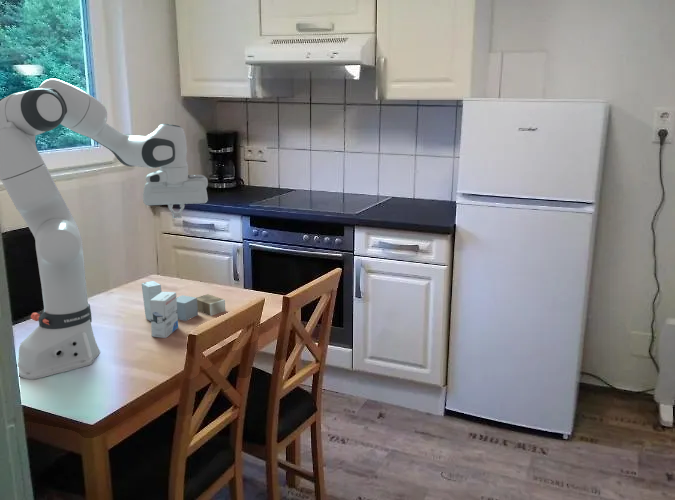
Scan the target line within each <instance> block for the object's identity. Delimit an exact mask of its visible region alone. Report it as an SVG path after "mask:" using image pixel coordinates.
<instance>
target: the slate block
mask: <svg viewBox="0 0 675 500" xmlns="http://www.w3.org/2000/svg"><path fill="white" fill-rule="evenodd" d="M176 298H177V315H178V320H179V319H180V321H184V322H187V321H189V320H191V319H193V318H195V317H196V316H198V315H199V311H198V308H197V297H194V296H189V295H184V294H182V295H180V296H178V297H177V296H176ZM190 318H191V319H190Z"/></svg>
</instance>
